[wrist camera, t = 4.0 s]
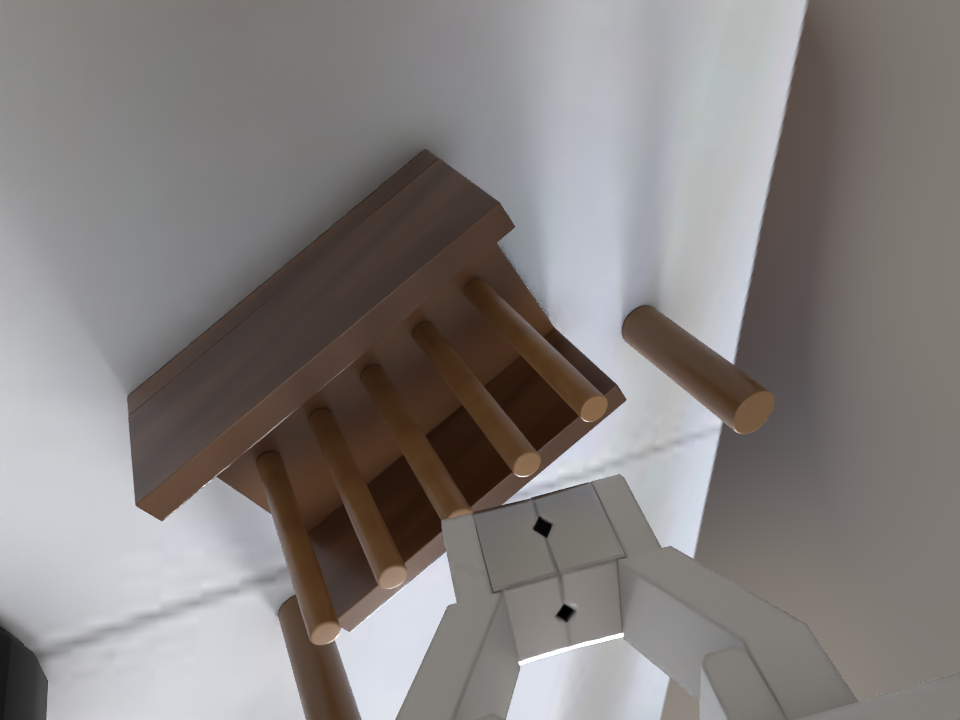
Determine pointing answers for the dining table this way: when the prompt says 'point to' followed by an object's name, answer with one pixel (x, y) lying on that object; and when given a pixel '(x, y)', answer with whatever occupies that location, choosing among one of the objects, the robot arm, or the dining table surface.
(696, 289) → the dining table surface
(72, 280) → the dining table surface
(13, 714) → the coffee jar
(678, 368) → the marker posts
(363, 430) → the plate rack
